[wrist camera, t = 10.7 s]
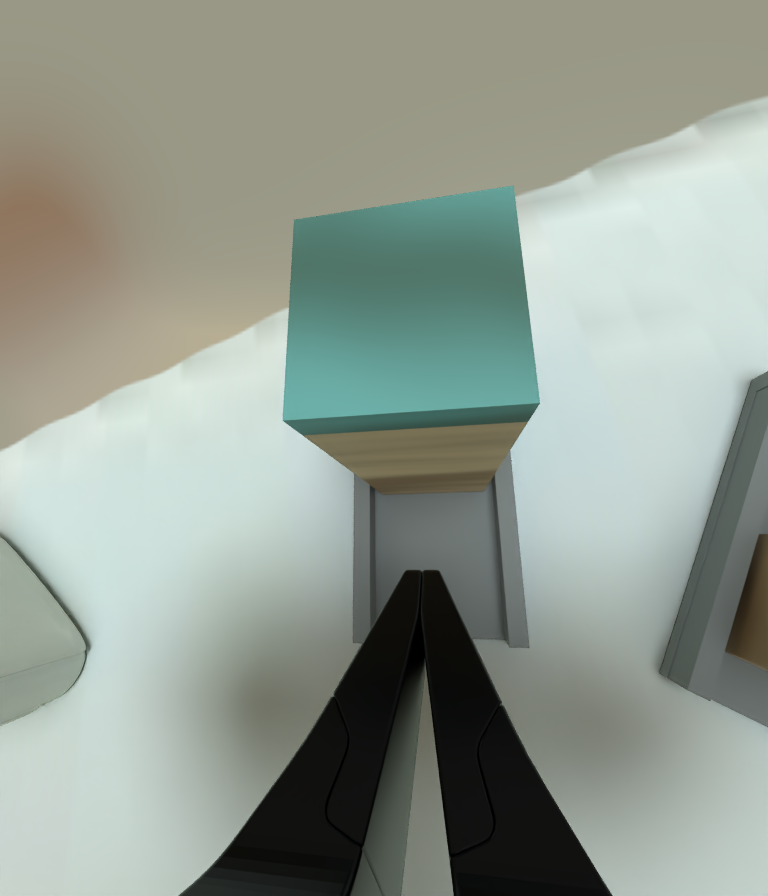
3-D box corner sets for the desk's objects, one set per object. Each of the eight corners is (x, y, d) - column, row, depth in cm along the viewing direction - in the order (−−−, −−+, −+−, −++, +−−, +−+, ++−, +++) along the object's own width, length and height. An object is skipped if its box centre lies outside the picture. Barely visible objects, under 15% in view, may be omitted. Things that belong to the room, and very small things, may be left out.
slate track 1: (522, 637, 16) (535, 654, 13) (361, 633, 17) (346, 648, 14) (495, 351, 19) (502, 323, 16) (361, 363, 20) (349, 338, 18)
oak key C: (483, 491, 17) (539, 403, 6) (383, 494, 17) (282, 420, 7) (476, 396, 18) (513, 185, 7) (382, 403, 19) (294, 219, 8)
